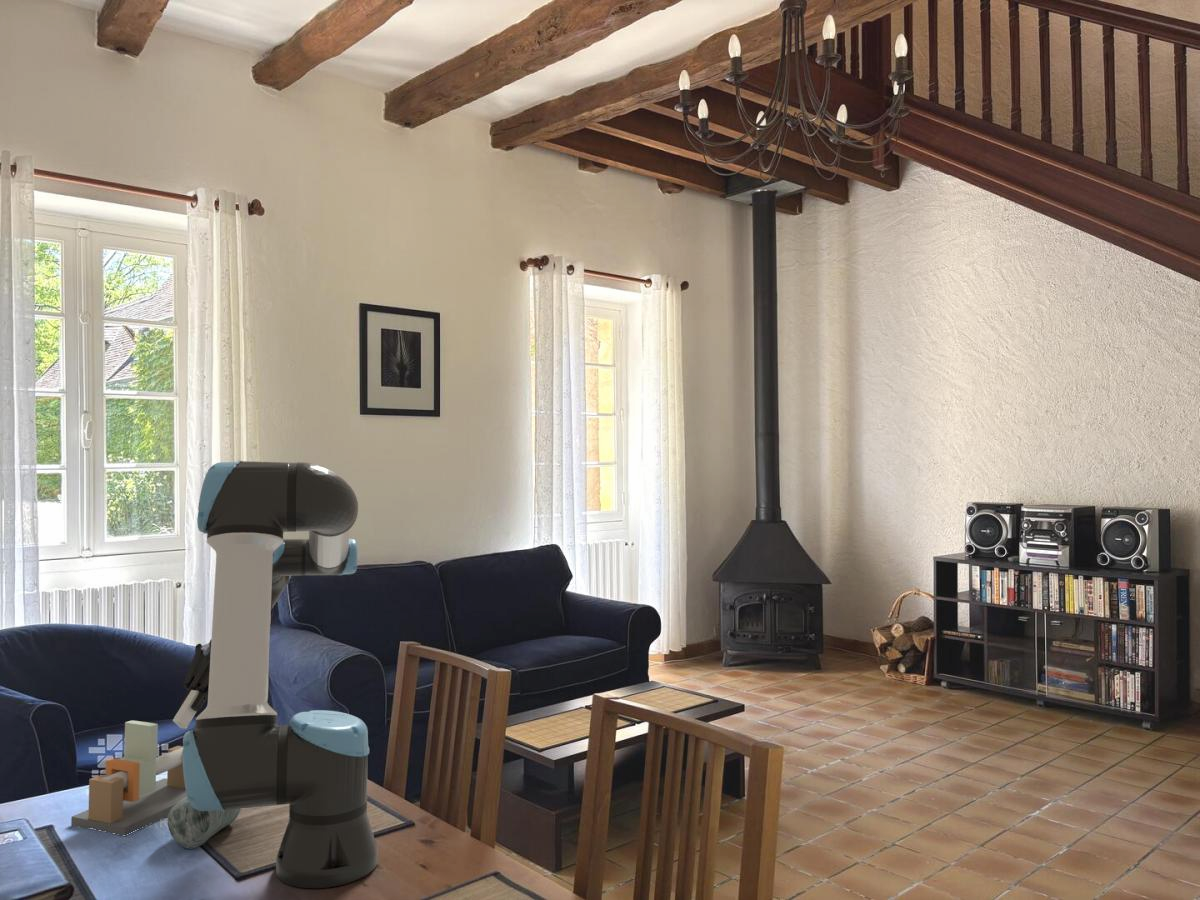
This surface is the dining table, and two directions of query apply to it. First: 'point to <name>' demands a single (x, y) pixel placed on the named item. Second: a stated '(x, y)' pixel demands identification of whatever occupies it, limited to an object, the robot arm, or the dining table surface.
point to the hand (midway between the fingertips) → (179, 724)
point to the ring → (133, 776)
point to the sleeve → (142, 752)
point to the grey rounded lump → (196, 823)
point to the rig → (130, 816)
